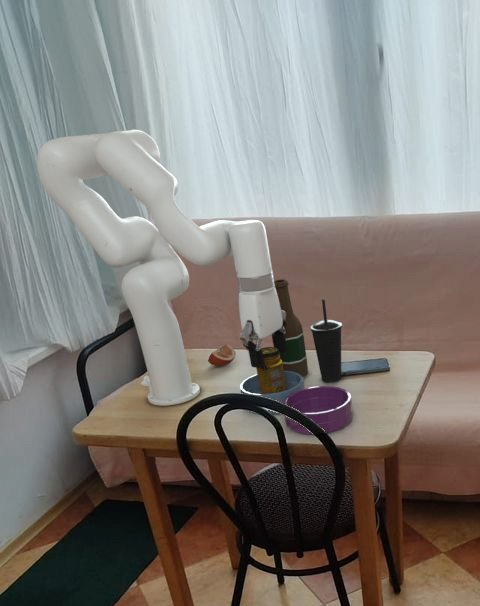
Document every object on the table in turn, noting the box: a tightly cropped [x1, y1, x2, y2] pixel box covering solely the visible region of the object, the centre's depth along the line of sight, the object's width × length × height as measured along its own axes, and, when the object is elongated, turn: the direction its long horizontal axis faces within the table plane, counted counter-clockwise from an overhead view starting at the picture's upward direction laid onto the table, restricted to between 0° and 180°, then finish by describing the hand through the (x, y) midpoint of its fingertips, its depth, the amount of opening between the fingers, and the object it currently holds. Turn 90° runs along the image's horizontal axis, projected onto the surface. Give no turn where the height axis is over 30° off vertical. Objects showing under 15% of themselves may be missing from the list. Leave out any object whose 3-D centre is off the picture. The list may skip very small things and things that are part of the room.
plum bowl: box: [283, 385, 354, 436], centre depth 135 cm, size 14×14×5 cm
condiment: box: [255, 346, 286, 394], centre depth 144 cm, size 7×8×12 cm
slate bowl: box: [239, 371, 305, 415], centre depth 146 cm, size 14×14×5 cm
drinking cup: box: [309, 298, 343, 384], centre depth 152 cm, size 8×8×20 cm
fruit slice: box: [207, 343, 236, 367], centre depth 170 cm, size 8×7×5 cm
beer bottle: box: [271, 279, 309, 379], centre depth 155 cm, size 8×8×24 cm
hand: (270, 359), depth 142 cm, fingers open, 9 cm apart
